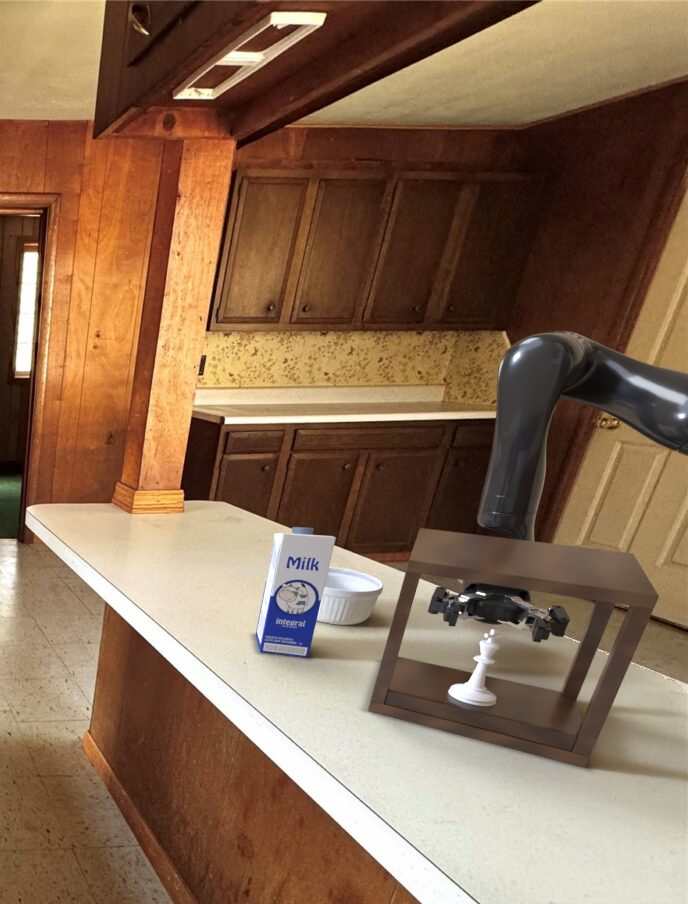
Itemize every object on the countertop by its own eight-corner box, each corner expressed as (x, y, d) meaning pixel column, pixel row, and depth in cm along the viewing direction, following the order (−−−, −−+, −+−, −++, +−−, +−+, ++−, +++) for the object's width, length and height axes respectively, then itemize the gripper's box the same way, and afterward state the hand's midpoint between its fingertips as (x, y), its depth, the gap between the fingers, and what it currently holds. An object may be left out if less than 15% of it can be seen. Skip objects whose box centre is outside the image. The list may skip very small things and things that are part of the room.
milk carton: (258, 652, 106) (282, 532, 99) (254, 635, 112) (276, 521, 105) (309, 658, 104) (337, 536, 97) (301, 640, 110) (327, 524, 102)
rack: (571, 704, 89) (633, 553, 81) (585, 768, 77) (659, 596, 69) (382, 662, 102) (420, 527, 94) (367, 710, 89) (409, 560, 81)
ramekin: (393, 622, 116) (403, 585, 113) (334, 633, 112) (343, 595, 110) (326, 596, 127) (334, 562, 125) (271, 605, 124) (278, 571, 121)
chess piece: (505, 706, 87) (531, 637, 83) (467, 706, 87) (491, 637, 83) (475, 687, 91) (498, 621, 88) (439, 688, 91) (460, 622, 88)
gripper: (440, 559, 102) (435, 589, 90) (569, 577, 93) (581, 613, 81) (427, 604, 104) (420, 639, 93) (551, 626, 96) (560, 667, 84)
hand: (495, 627), depth 87 cm, fingers open, 8 cm apart
